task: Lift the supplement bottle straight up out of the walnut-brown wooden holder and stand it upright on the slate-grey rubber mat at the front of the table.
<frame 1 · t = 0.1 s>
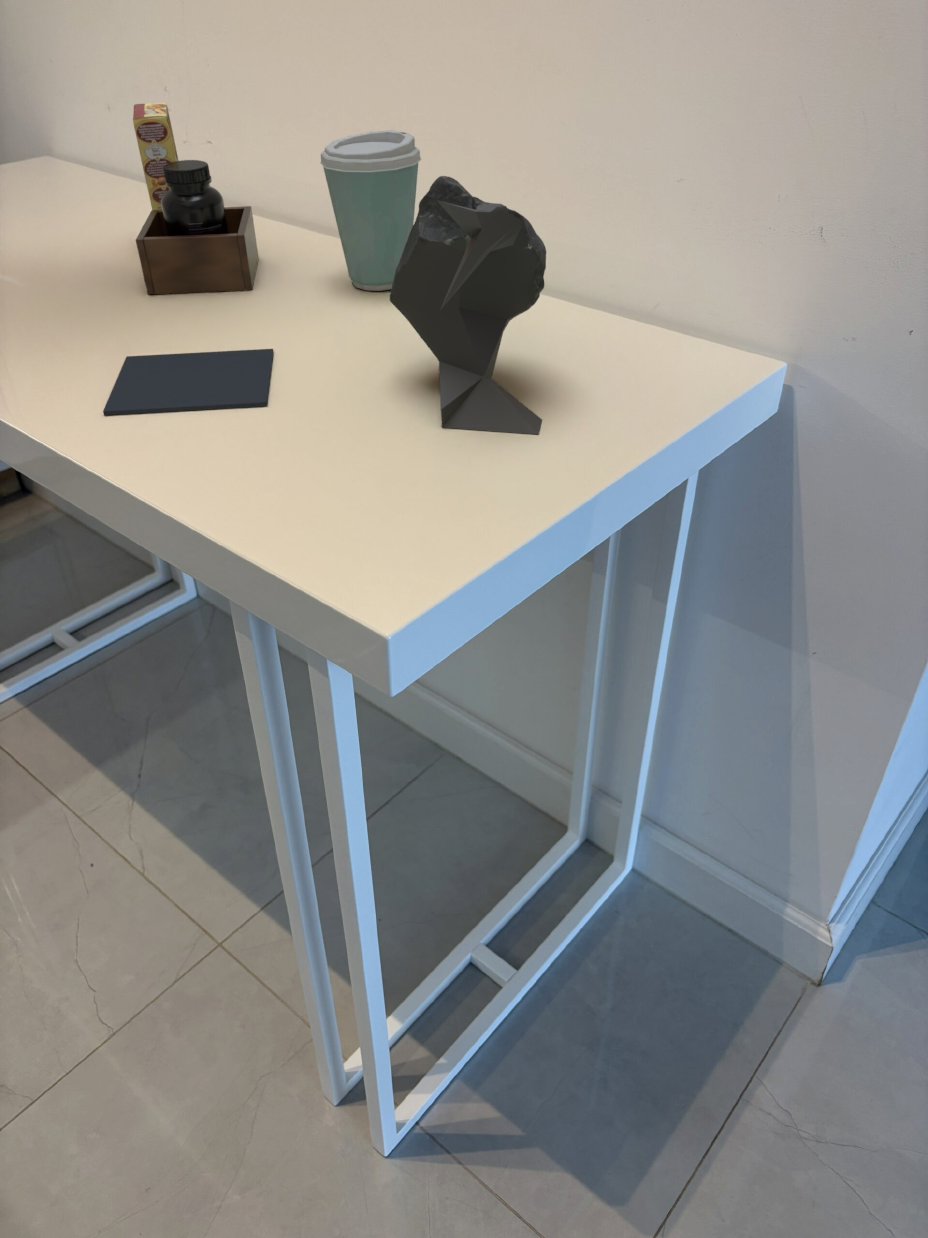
candy box: (176, 245, 119), on the table
dark grey faceted sculpture: (469, 391, 84), on the table
supplement bottle: (206, 277, 109), resting in holder
disposable coffee cup: (378, 283, 107), on the table
holder: (205, 275, 109), on the table
mat: (193, 381, 86), on the table
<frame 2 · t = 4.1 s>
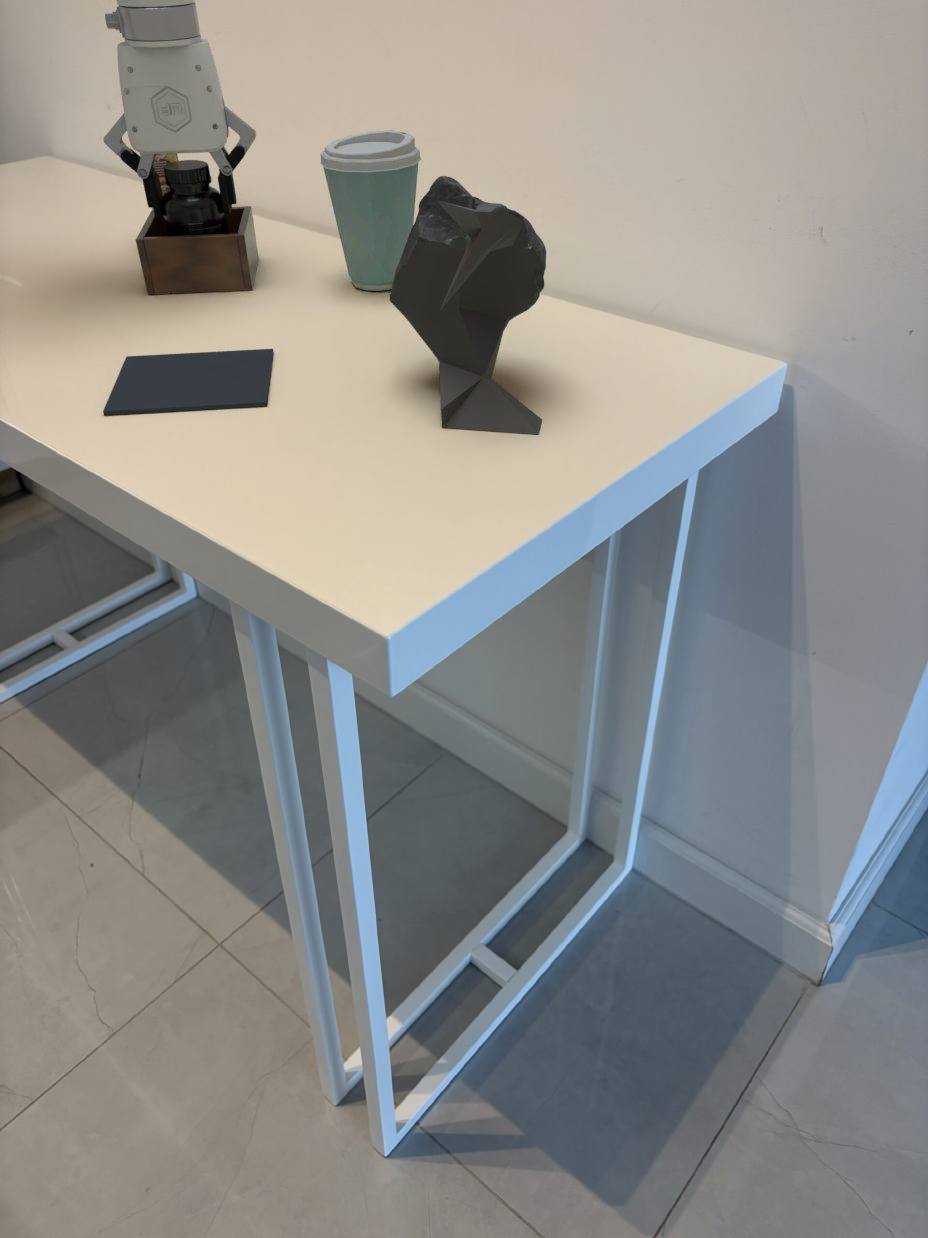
hand: (194, 211, 105), 7 cm above the table, tool pointing down, fingers closed on supplement bottle, 6 cm apart
supplement bottle: (206, 277, 109), resting in holder, touching gripper
everything else where it was.
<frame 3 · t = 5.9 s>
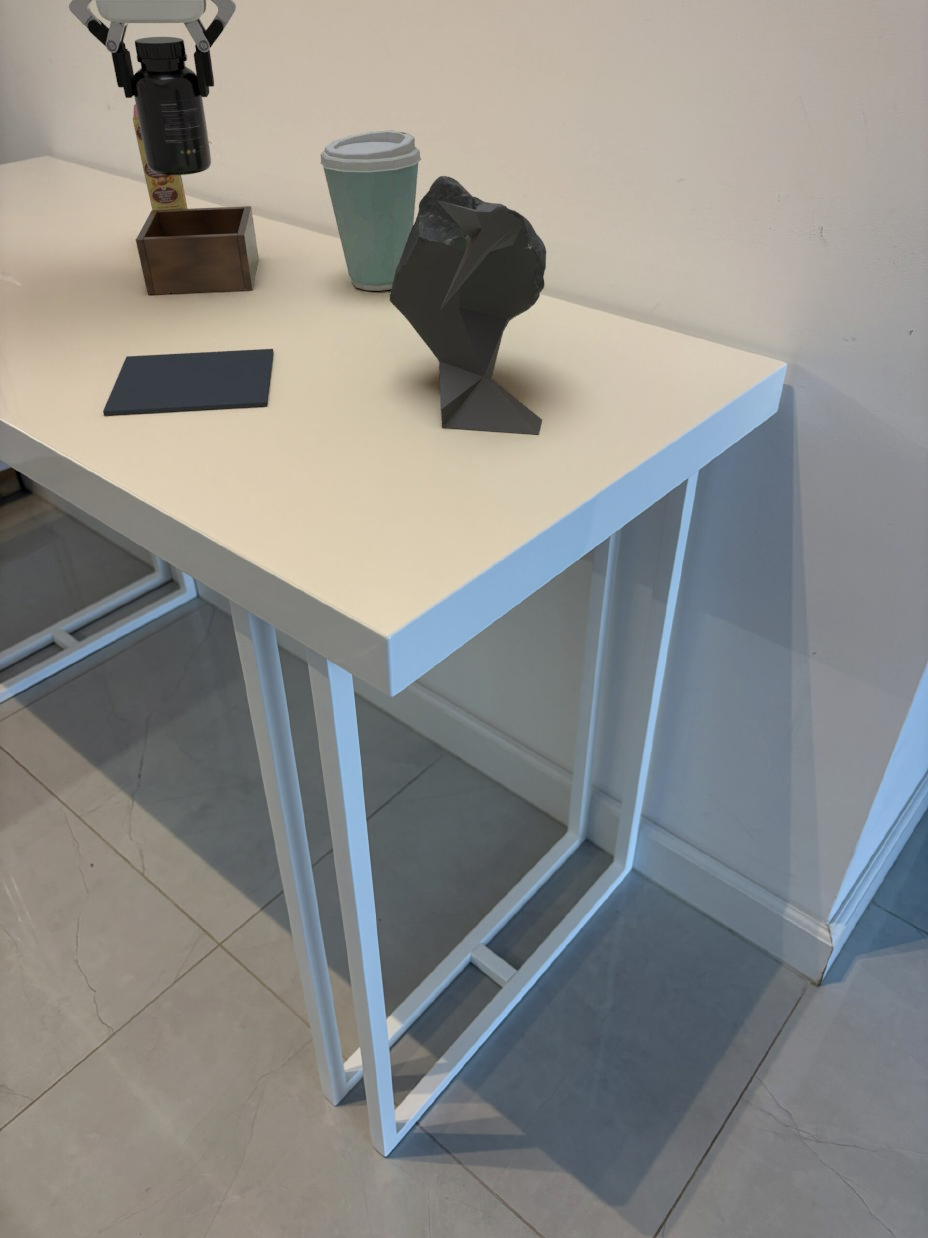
hand: (168, 93, 97), 19 cm above the table, tool pointing down, fingers closed on supplement bottle, 6 cm apart
supplement bottle: (180, 170, 102), point 12 cm above the table, touching gripper
everything else where it was.
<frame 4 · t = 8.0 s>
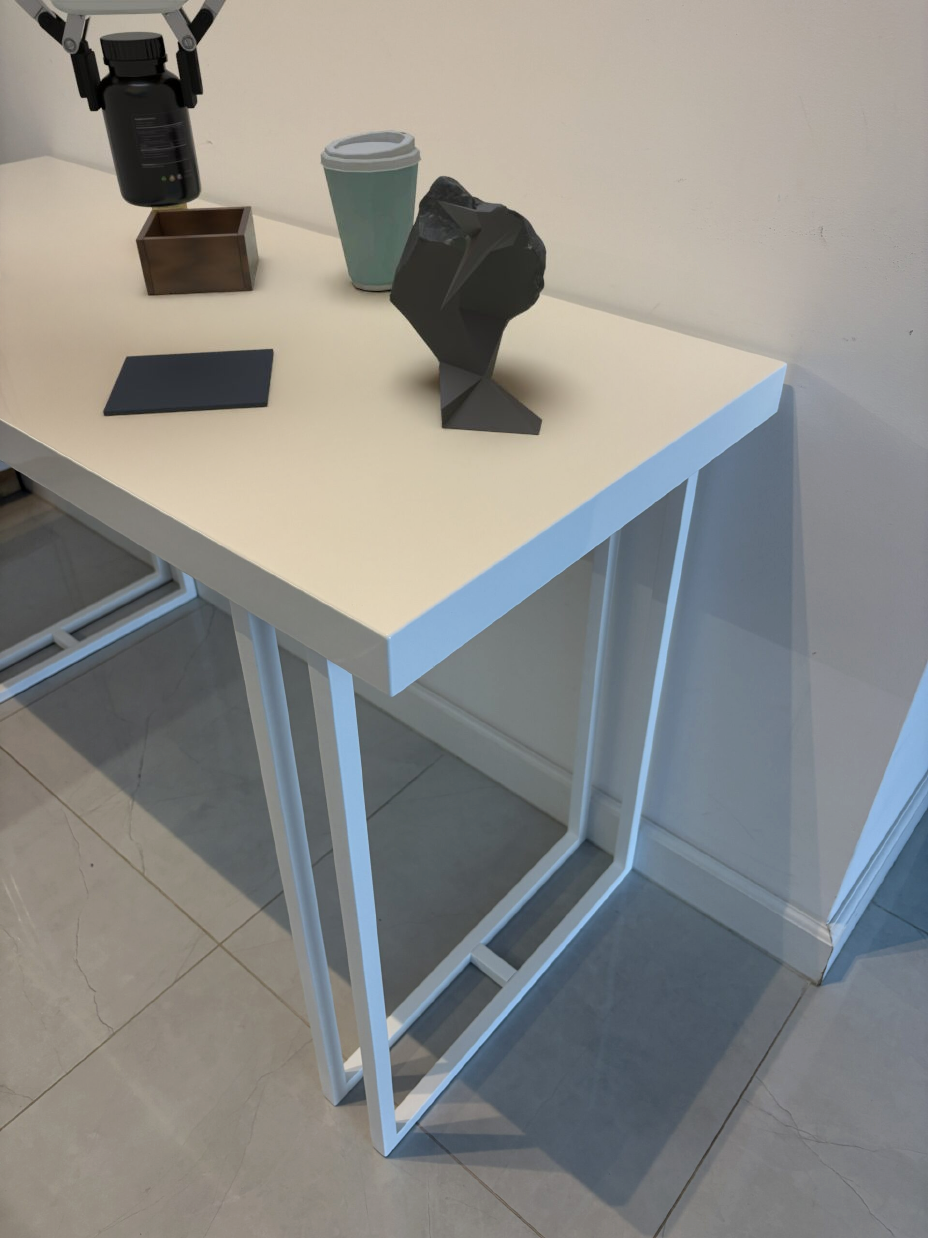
hand: (144, 104, 76), 22 cm above the table, tool pointing down, fingers closed on supplement bottle, 6 cm apart
supplement bottle: (163, 200, 81), point 15 cm above the table, touching gripper
everything else where it was.
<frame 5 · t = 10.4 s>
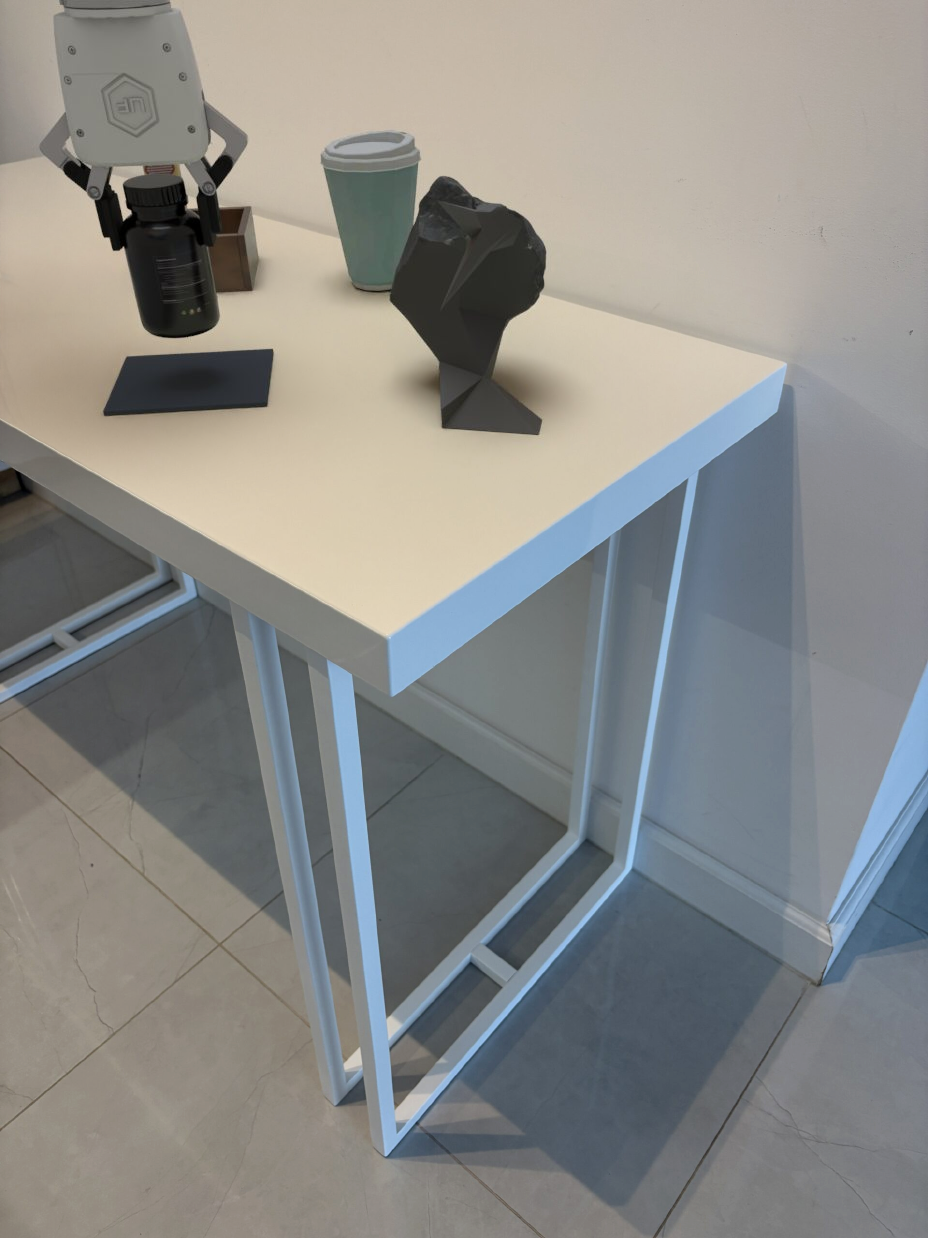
hand: (165, 242, 78), 12 cm above the table, tool pointing down, fingers closed on supplement bottle, 6 cm apart
supplement bottle: (182, 327, 83), point 5 cm above the table, touching gripper
everything else where it was.
when the fingers open (8 cm above the table, at t = 12.2 s): supplement bottle stays where it is, resting on mat.
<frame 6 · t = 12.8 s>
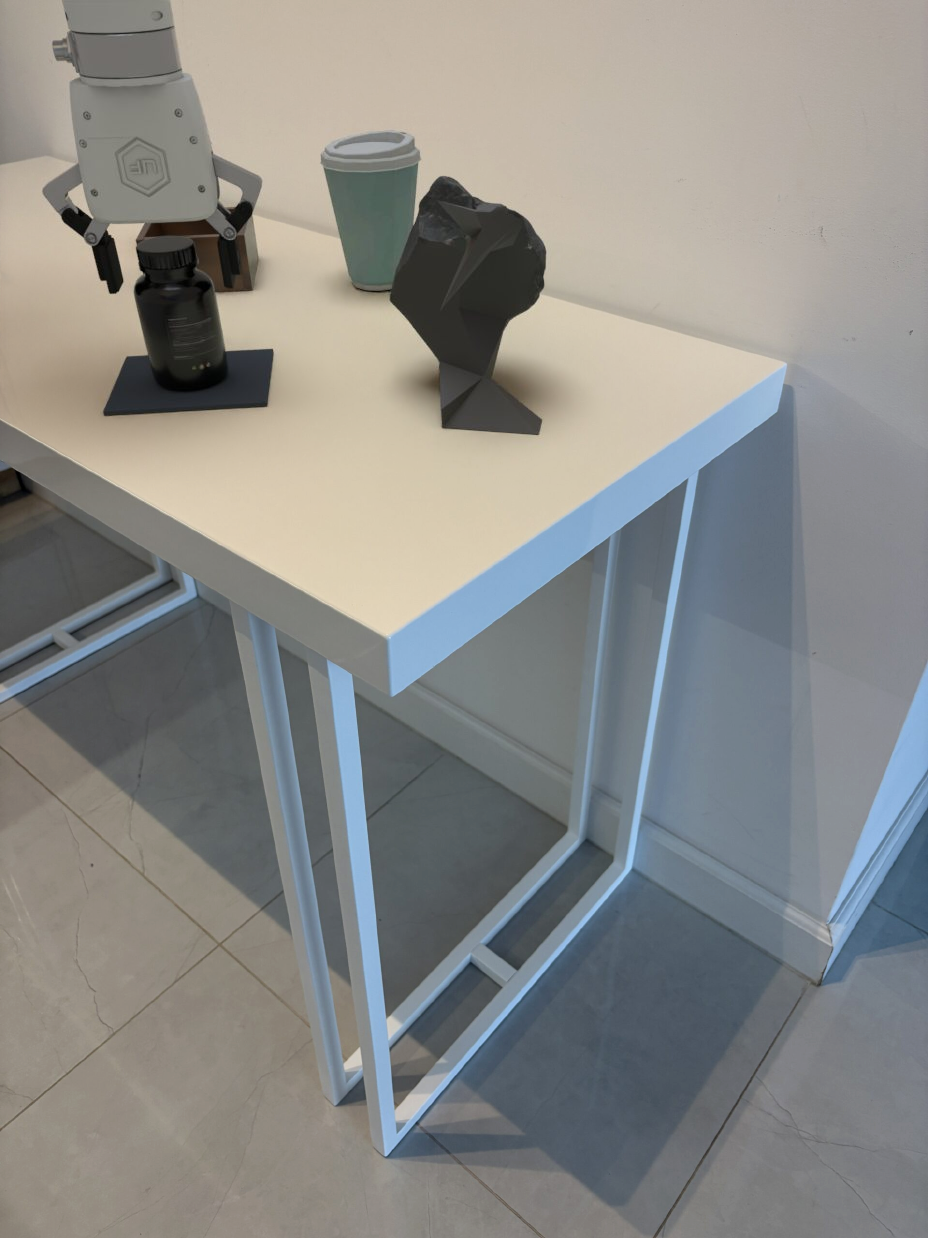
hand: (174, 285, 81), 9 cm above the table, tool pointing down, fingers open, 9 cm apart
supplement bottle: (192, 379, 86), resting on mat
everything else where it was.
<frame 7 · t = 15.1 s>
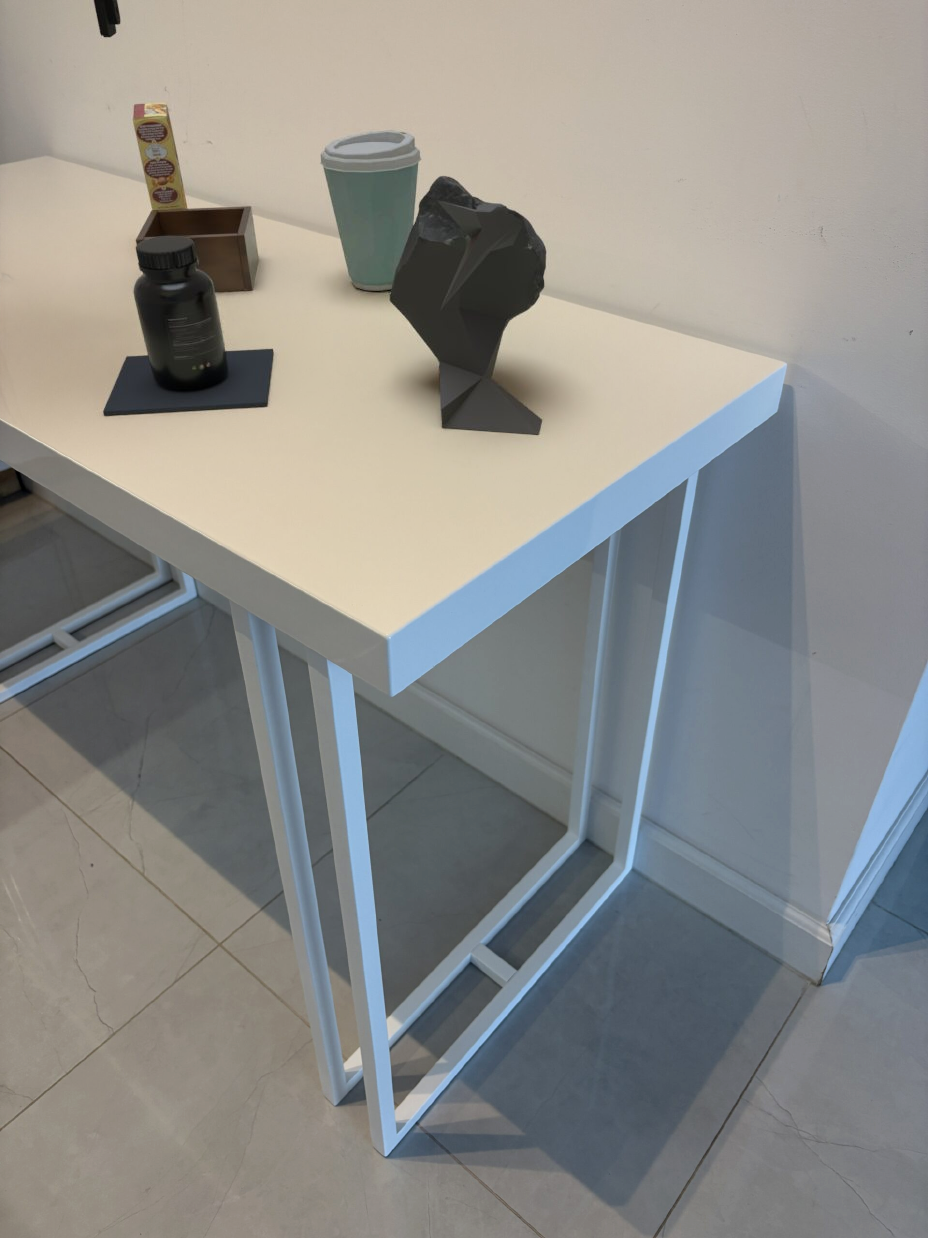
hand: (50, 34, 79), 26 cm above the table, tool pointing down, fingers open, 9 cm apart
nothing on the table moved.
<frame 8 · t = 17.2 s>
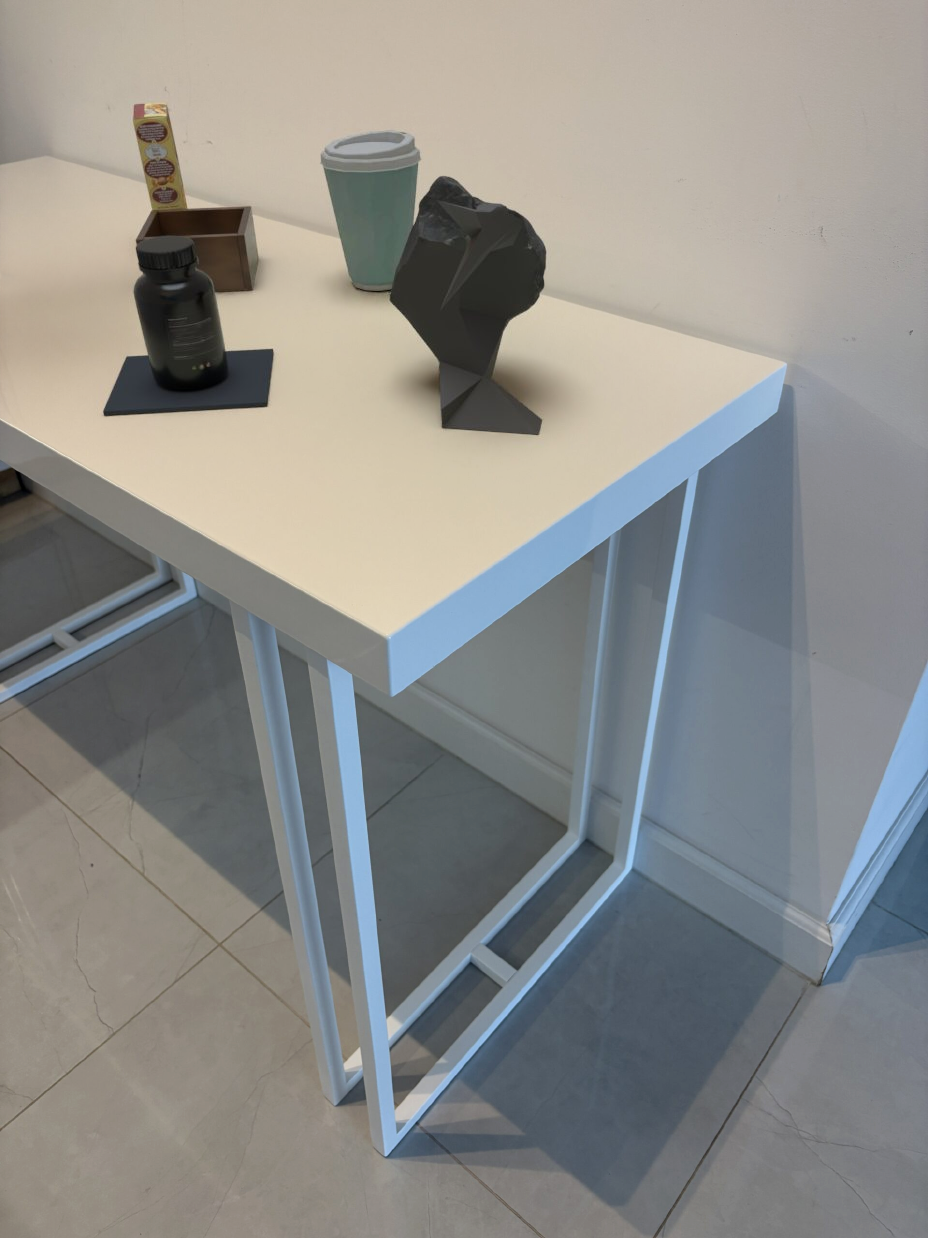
nothing on the table moved.
at the end: supplement bottle inside the target area on the mat (0.1 cm from its centre), point 0.2 cm above the mat's base; supplement bottle tilted 0°; supplement bottle touching mat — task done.
